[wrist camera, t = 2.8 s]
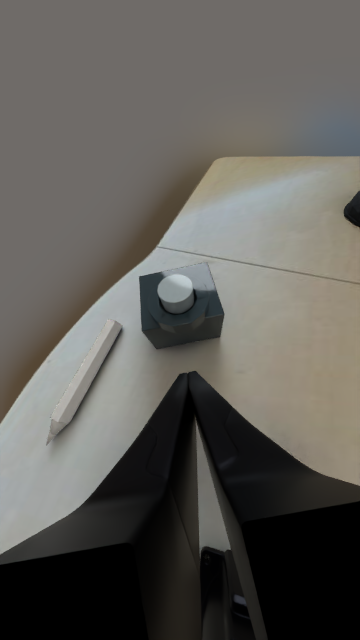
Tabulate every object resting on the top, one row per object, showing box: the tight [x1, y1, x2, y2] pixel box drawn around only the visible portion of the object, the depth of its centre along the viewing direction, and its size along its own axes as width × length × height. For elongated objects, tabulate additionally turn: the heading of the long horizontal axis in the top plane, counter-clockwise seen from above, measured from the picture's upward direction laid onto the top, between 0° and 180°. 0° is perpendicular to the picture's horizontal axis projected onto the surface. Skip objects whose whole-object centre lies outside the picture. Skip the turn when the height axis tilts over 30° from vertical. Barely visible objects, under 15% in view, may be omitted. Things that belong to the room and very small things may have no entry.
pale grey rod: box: [46, 319, 122, 446], centre depth 22 cm, size 3×2×16 cm
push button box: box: [139, 262, 224, 349], centre depth 22 cm, size 9×9×8 cm
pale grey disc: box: [157, 274, 194, 314], centre depth 17 cm, size 3×3×2 cm
